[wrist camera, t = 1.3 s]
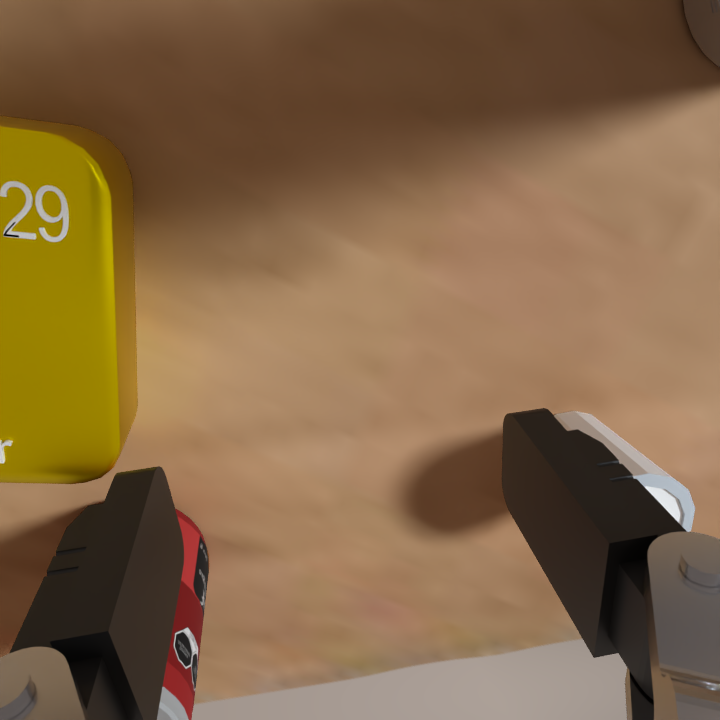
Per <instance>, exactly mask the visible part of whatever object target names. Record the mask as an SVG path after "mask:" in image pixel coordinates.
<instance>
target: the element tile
mask: <svg viewBox="0 0 720 720" xmlns="http://www.w3.org/2000/svg"><path fill="white" fill-rule="evenodd" d="M137 406H138V399H137V352H136V306H135V259H134V213H133V181H132V177H131V173H130V171H129V168H128V166H127V164H126V161H125V159H124V157H123V155H122V153H121V152H120V151H119V150H118V149H117V148H116V147H115V146H114V145H113V144H112V142H111V141H110V140H108V139H106V138H105V137H103V136H101V135H99V134H97V133H96V132H94V131H92V130H89V129H86V128H82V127H79V126H76V125H68V124H61V123H53V122H45V121H38V120H30V119H22V118H15V117H7V116H0V482H6V483H52V484H76V483H85V482H88V481H92V480H95V479H98V478H101V477H102V476H104V475H105V474H106V473H107V472H109V471H110V470H111V469H112V468H113V467H114V465H115V463H116V462H117V460H118V458H119V456H120V453H121V451H122V448H123V446H124V444H125V441H126V439H127V436H128V434H129V431H130V429H131V426H132V424H133V421H134V419H135V416H136V412H137Z"/></svg>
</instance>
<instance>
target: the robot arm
mask: <svg viewBox="0 0 720 720" xmlns="http://www.w3.org/2000/svg"><path fill="white" fill-rule="evenodd" d="M683 3H684V10H685V16H686V19H687V22H688V25H689V28H690V31H691V34H692V36H693V38H694V39H695V41H696V43H697V44H698V46H699V47H700V49H701V50H702V52H703V53H704V54H705V55H706V56H707V57H708V58H709V59H710V60H711V61H712V62H714V63H715V64H716V65H717V66H718V67H720V0H683ZM502 488H503V494H504V498H505V501H506V504H507V507H508V509H509V511H510V513H511V515H512V517H513V519H514V520H515V522H516V524H517V525H518V527H519V529H520V531H521V532H522V534H523V536H524V538H525V539H526V541H527V543H528V545H529V546H530V548H531V550H532V551H533V553H534V555H535V557H536V558H537V560H538V562H539V564H540V565H541V567H542V569H543V571H544V572H545V574H546V576H547V577H548V579H549V581H550V583H551V584H552V586H553V588H554V590H555V591H556V593H557V595H558V597H559V598H560V600H561V602H562V603H563V605H564V607H565V609H566V610H567V612H568V614H569V616H570V617H571V619H572V621H573V623H574V624H575V626H576V628H577V629H578V631H579V633H580V635H581V636H582V638H583V640H584V642H585V643H586V645H587V647H588V649H589V650H590V652H591V654H592V655H593V657H594V658H595V657H600V656H604V655H610V654H615V653H619V655H620V656H621V658H622V659H623V661H624V663H625V664H626V666H627V673H626V679H625V690H626V691H625V692H626V711H627V720H720V539H717V538H715V537H712V536H709V535H705V534H700V533H695V532H687V531H686V530H685V529H684V528H683V527H682V526H681V525H680V524H679V523H678V522H677V521H676V519H675V518H674V517H673V516H672V515H671V514H670V513H669V512H668V511H667V510H666V509H665V508H664V507H663V506H662V505H661V504H660V503H659V502H658V501H657V500H656V499H655V497H654V496H653V495H652V494H651V493H650V492H649V491H648V490H647V489H646V488H645V487H644V486H643V485H642V484H641V483H640V482H639V481H638V480H637V479H634V478H633V474H632V473H631V472H630V471H629V470H628V469H627V468H626V467H625V466H624V465H623V464H620V463H619V460H618V459H617V458H616V457H615V455H614V454H613V453H612V452H611V451H610V450H609V449H608V448H607V447H606V446H605V445H604V444H603V443H602V442H600V441H598V440H596V439H595V438H593V437H591V436H589V435H587V434H585V433H583V432H582V431H580V430H578V429H576V430H570V431H567V430H566V429H565V428H564V427H563V426H562V424H561V423H560V422H559V421H558V420H557V419H556V418H555V417H554V415H553V414H552V413H551V412H550V411H549V410H548V409H546V408H542V409H535V410H529V411H522V412H516V413H509V414H507V415H506V416H505V418H504V422H503V450H502ZM183 566H184V543H183V536H182V532H181V528H180V524H179V521H178V517H177V514H176V510H175V507H174V503H173V500H172V496H171V493H170V489H169V486H168V482H167V479H166V476H165V473H164V471H163V469H162V468H161V467H152V468H146V469H139V470H133V471H126V472H120V473H117V474H116V475H115V477H114V479H113V481H112V484H111V486H110V489H109V491H108V494H107V496H106V499H105V502H104V503H103V504H96V505H90V506H88V507H87V508H86V509H85V510H84V511H83V512H82V513H81V514H80V515H79V516H78V517H77V518H76V519H75V520H74V521H73V522H72V523H71V524H70V525H69V526H68V527H67V528H66V531H65V533H64V535H63V537H62V539H61V542H60V544H59V546H58V548H57V550H56V556H54V557H53V559H52V561H51V563H50V566H49V568H48V570H47V577H44V579H43V581H42V583H41V585H40V588H39V590H38V592H37V594H36V596H35V599H34V601H33V603H32V605H31V607H30V609H29V612H28V614H27V616H26V618H25V620H24V623H23V625H22V627H21V629H20V631H19V634H18V636H17V638H16V640H15V642H14V644H13V647H12V649H11V651H10V653H9V654H7V655H5V656H3V657H1V658H0V720H157V716H158V710H159V704H160V699H161V693H162V687H163V681H164V676H165V670H166V664H167V658H168V653H169V647H170V641H171V636H172V630H173V624H174V618H175V613H176V607H177V601H178V595H179V590H180V584H181V578H182V572H183Z"/></svg>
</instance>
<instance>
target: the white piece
mask: <svg viewBox="0 0 720 720" xmlns="http://www.w3.org/2000/svg"><path fill="white" fill-rule="evenodd" d="M554 417H555V418H556V419H557V420H558V421H559V422H560V423H561V424H562V426H563V427H564V428H565V429H566V430H567V431H570V430H576V429H578V430H580V431H582V432H583V433H585V434H587V435H589V436H591V437H593V438H595V439H596V440H598V441H600V442H602V443H603V444H604V445H605V446H606V447H607V448H608V449H609V450H610V451H611V452H612V453H613V454H614V455H615V457H616V458H617V459H618V460H619V463H620V464H623V465H624V466H625V467H626V468H627V469H628V470H629V471H630V472H631V473H632V474H633V478H634V479H637V480H638V481H639V482H640V483H641V484H642V485H643V486H644V487H645V488H646V489H647V490H648V491H649V492H650V493H651V494H652V495H653V496H654V497H655V499H656V500H657V501H658V502H659V503H660V504H661V505H662V506H663V507H664V508H665V509H666V510H667V511H668V512H669V513H670V514H671V515H672V516H673V517H674V518H675V519H676V521H677V522H678V523H679V524H680V525H681V526H682V527H683V528H684V529H685V530H686V531H687V532H690V531H691V528H692V523H693V517H694V512H695V507H694V504H693V501H692V498H691V495H690V492H689V490H688V489H687V488H686V487H684V486H683V485H682V484H680V483H679V482H678V481H677V480H675V479H674V478H673V477H671V476H670V475H669V474H667V473H666V472H665V471H664V470H662V469H661V468H660V467H658V466H657V465H656V464H655V463H653V462H652V461H651V460H649V459H648V458H647V457H645V456H644V455H643V454H642V453H640V452H639V451H638V450H636V449H635V448H634V447H633V446H631V445H630V444H629V443H627V442H626V441H625V440H624V439H622V438H621V437H620V436H618V435H617V434H616V433H614V432H613V431H612V430H611V429H609V428H608V427H607V426H605V425H604V424H603V423H602V422H600V421H599V420H598V419H596V418H595V417H594V416H592V415H591V414H587V413H582V412H577V411H571V412H566V413H560V414H556V415H554Z"/></svg>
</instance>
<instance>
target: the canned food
mask: <svg viewBox="0 0 720 720" xmlns="http://www.w3.org/2000/svg"><path fill="white" fill-rule="evenodd" d="M175 510H176V514H177V517H178V521H179V524H180V528H181V532H182V536H183V543H184V566H183V572H182V578H181V584H180V590H179V595H178V601H177V607H176V613H175V618H174V624H173V630H172V636H171V641H170V647H169V653H168V658H167V664H166V670H165V676H164V681H163V687H162V693H161V699H160V704H159V710H158V716H157V720H191V718H192V711H193V705H194V696H195V688H196V679H197V670H198V661H199V652H200V643H201V635H202V626H203V617H204V608H205V599H206V590H207V581H208V573H209V554H208V551H207V548H206V544H205V541H204V538H203V535H202V534H201V532H200V530H199V529H198V527H197V526H196V525H195V524H194V522H193V521H192V520H191V519H190V518H188V517H187V516H186V515H184V514H183V513H182V512H180V511H179V510H177V509H175Z"/></svg>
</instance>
